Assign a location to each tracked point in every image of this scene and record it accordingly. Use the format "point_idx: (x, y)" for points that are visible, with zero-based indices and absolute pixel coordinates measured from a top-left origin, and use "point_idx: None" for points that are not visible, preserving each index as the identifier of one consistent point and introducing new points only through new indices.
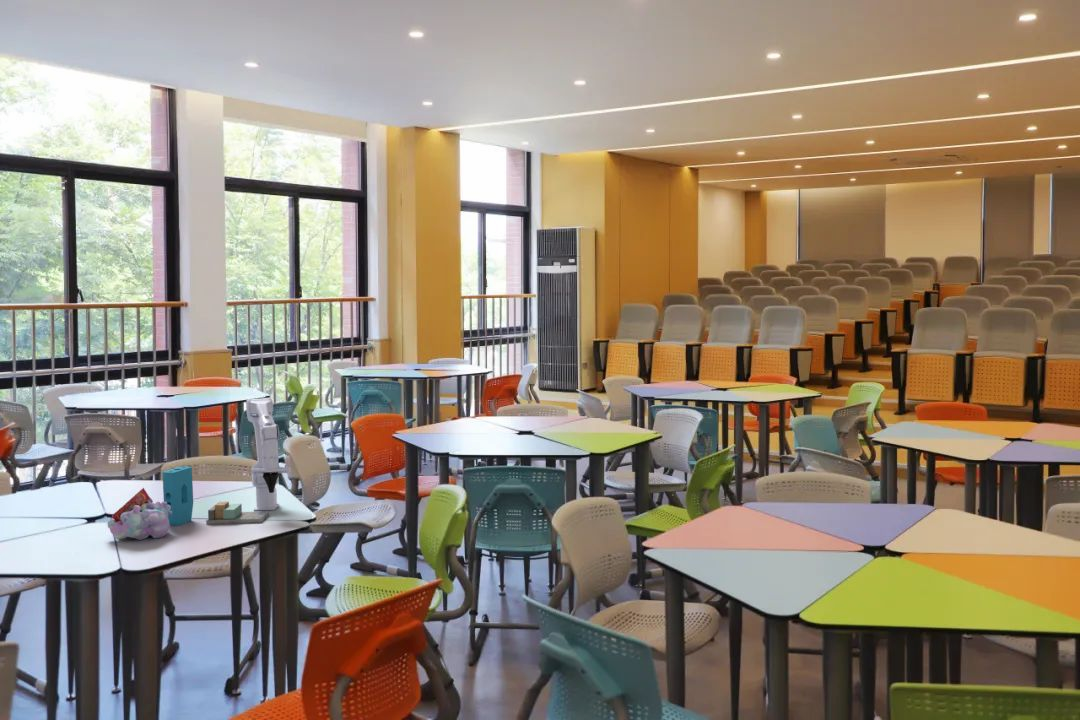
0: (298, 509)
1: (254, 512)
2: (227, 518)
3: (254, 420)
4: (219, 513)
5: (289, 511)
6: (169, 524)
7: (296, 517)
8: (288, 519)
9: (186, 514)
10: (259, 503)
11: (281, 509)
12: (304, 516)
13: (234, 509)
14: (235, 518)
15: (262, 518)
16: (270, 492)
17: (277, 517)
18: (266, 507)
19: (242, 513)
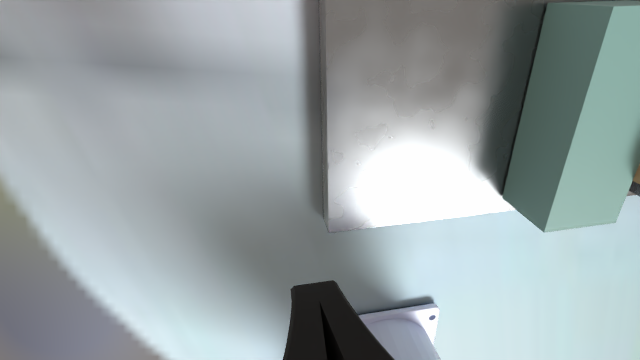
0: (185, 346)
1: (421, 201)
2: (600, 1)
3: None
4: None
5: (223, 304)
6: None
7: (85, 156)
8: (122, 92)
9: None
10: (421, 346)
11: None
12: (32, 186)
13: (608, 18)
14: (538, 19)
15: (324, 30)
16: (321, 285)
17: (244, 160)
18: (373, 329)
19: (495, 176)
